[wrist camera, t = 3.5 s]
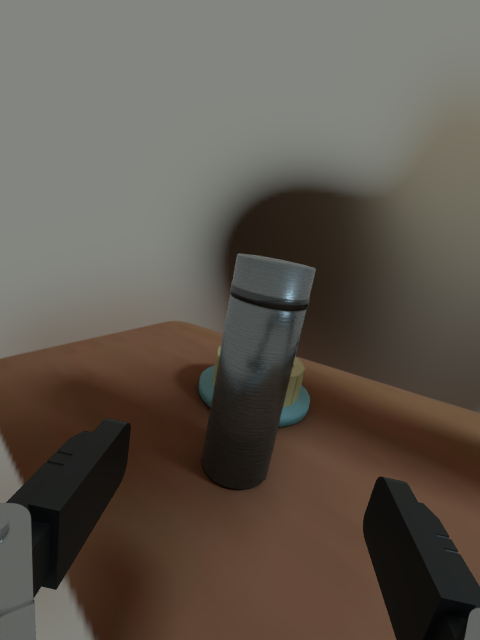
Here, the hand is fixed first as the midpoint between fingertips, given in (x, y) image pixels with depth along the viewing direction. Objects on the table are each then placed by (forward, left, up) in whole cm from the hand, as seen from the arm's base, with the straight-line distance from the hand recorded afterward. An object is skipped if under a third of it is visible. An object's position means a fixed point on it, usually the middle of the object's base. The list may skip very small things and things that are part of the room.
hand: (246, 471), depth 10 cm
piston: (-6, -8, -8) cm, 13 cm away
